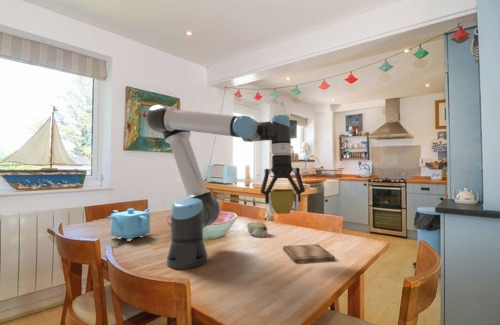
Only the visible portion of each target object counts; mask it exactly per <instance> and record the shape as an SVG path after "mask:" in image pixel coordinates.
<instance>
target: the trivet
mask: <svg viewBox="0 0 500 325" xmlns="http://www.w3.org/2000/svg"><path fill="white" fill-rule="evenodd" d="M282 250H283V251H284V252H285V253H286V255H287V256H288V257H289V258H290V259H291V260H292V262H293V263H294V264H302V263H317V262H334V261H336V256H334V255H333V254H332V253H331V252H329V251H328V250H327V249H326V248H324V247H323V246H321V245H320V244H318V243H317V244H299V245H284V246H282Z"/></svg>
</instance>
